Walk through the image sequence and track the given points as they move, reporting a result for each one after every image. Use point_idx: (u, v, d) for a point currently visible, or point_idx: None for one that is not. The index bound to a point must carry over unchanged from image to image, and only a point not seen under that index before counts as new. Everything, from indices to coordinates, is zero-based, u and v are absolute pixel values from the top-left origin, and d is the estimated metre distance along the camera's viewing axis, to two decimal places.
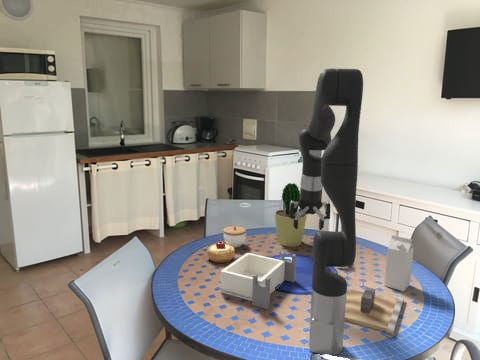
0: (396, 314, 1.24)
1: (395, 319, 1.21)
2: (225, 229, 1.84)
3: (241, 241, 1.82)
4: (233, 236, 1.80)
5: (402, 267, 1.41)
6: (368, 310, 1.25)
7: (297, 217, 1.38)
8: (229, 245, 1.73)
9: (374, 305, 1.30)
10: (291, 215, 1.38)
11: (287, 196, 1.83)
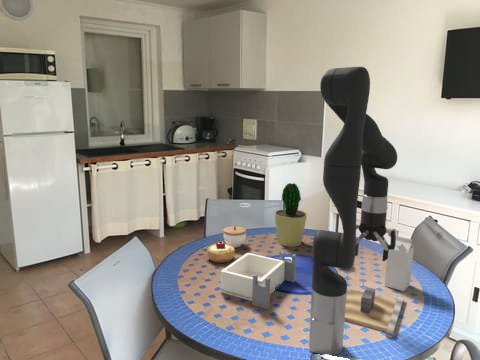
0: (396, 314, 1.24)
1: (395, 319, 1.21)
2: (225, 229, 1.84)
3: (241, 241, 1.82)
4: (233, 236, 1.80)
5: (402, 267, 1.41)
6: (368, 310, 1.25)
7: (356, 242, 1.26)
8: (229, 245, 1.73)
9: (374, 305, 1.30)
10: None
11: (287, 196, 1.83)
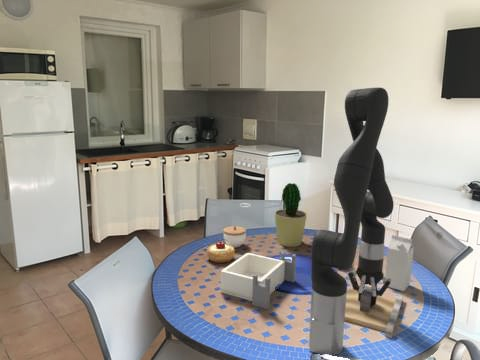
0: (395, 313, 1.24)
1: (394, 318, 1.21)
2: (225, 229, 1.84)
3: (241, 241, 1.82)
4: (233, 236, 1.80)
5: (402, 267, 1.41)
6: (367, 309, 1.25)
7: (360, 289, 1.28)
8: (229, 245, 1.73)
9: None
10: (355, 286, 1.29)
11: (287, 196, 1.83)
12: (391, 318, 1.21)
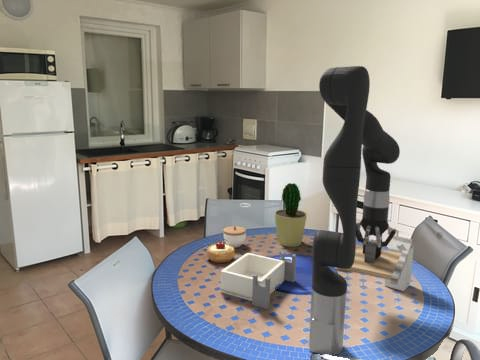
0: (401, 264, 1.21)
1: (400, 268, 1.18)
2: (225, 229, 1.84)
3: (241, 241, 1.82)
4: (233, 236, 1.80)
5: None
6: (372, 260, 1.22)
7: (365, 241, 1.25)
8: (229, 245, 1.73)
9: (378, 257, 1.27)
10: (359, 238, 1.25)
11: (287, 196, 1.83)
12: (397, 268, 1.18)
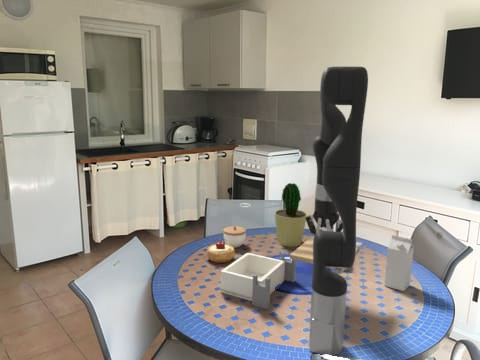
0: None
1: None
2: (225, 229, 1.84)
3: (241, 241, 1.82)
4: (233, 236, 1.80)
5: (402, 267, 1.41)
6: None
7: None
8: (229, 245, 1.73)
9: None
10: (312, 230, 1.31)
11: (287, 196, 1.83)
12: None
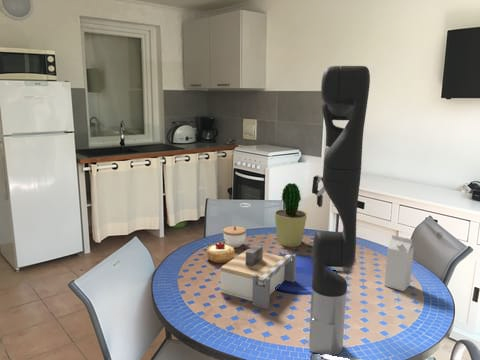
0: (276, 267, 1.38)
1: (272, 270, 1.35)
2: (225, 229, 1.84)
3: (241, 241, 1.82)
4: (233, 236, 1.80)
5: (402, 267, 1.41)
6: (251, 263, 1.39)
7: (319, 193, 1.31)
8: (229, 245, 1.72)
9: (261, 260, 1.44)
10: (313, 190, 1.32)
11: (287, 196, 1.83)
12: (269, 270, 1.35)
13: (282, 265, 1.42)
